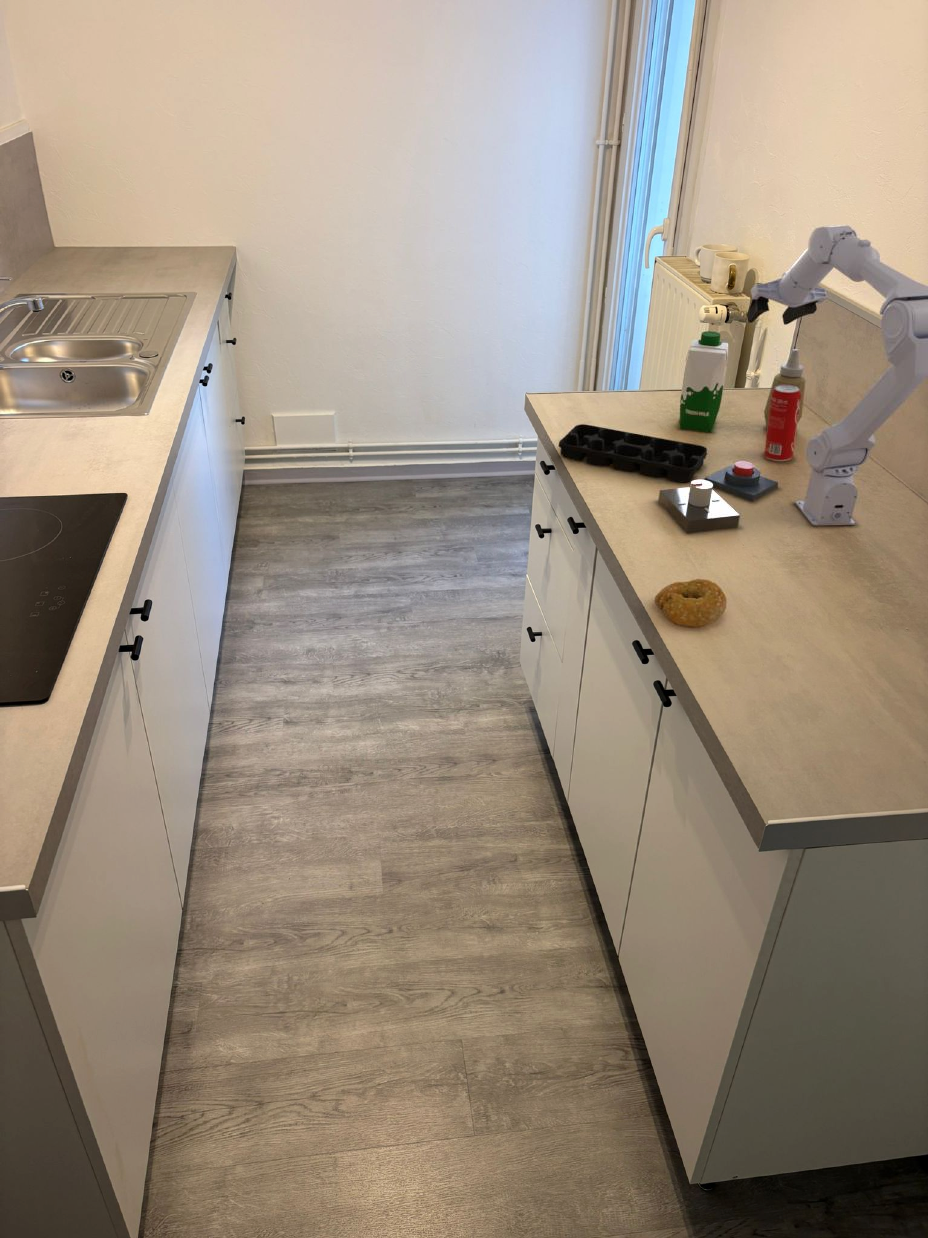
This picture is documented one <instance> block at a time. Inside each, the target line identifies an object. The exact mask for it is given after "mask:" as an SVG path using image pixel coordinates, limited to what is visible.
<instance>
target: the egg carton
mask: <svg viewBox="0 0 928 1238" xmlns="http://www.w3.org/2000/svg"><path fill="white" fill-rule="evenodd" d="M558 447H559V448H560V455H561V456H562V457H563V458H565V459H566V460H571V461H574V462H582V461H584V460H586V463H587V464H588V465H590V466H595V467H610V466H612V468H613V469H614V470H615V471H622V472H626V473H634V472H636V471H637V470H638V469H639V473H640V474H641V475H643V476H647V477H653V478H667V479H668V480H669V481H673V482H676V483H683V484H687V483H691V482H692V481H693V479H694V476H695V473H696V472H698V471H700V470H701V469H702V467H703V465H704V460H705V459H706V457H707V455H708V448H707V447H705V446H704V445H700V444H696V443H689V442H684V441H678V440H672V439H667V438H662V437H656V436H651V435H647V434H646V435H645V434H639V433H634V432H628V431H624V430H617V429H614V428H613V429H612V428H608V427H602V426H596V425H590V424H585V423H580V424H576V425H575V426H574V427H573V428H572V429H571V430H569V432H567V434H565V435H564V436H563V437H562V438H561V439H560V440H559V442H558ZM585 458H586V459H585Z"/></svg>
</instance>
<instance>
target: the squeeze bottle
mask: <svg viewBox="0 0 928 1238" xmlns="http://www.w3.org/2000/svg"><path fill="white" fill-rule="evenodd" d="M799 357H800V353H799V349H798V348H793V349H792V350H791V353H790V355H789V357H788V360H787V362H786V363H782V364H781V365H780V369H779V373H777V374H775V375H774V377H773V381H772V382H771V383H772V384H771V386H770V391H769V394H768V396H767V400H766V403H765V407H764V410H763V413H764V421H765V427H766V429H767V428H768V420H769V412H770V403H771V395H772V392H773V390H774V387H775V386H777V385H782V384H790V385H795V386H798V387H800V392H801V401H800V409H799V416H798V423H797V425H798V424H799V423H800V420H801V419H802V417H803V410H804V409H803V408H804V400H805V399H804V398H805V389H806V379H805V377H804V376H803V372H804V367H803V365H801V364H800V359H799Z"/></svg>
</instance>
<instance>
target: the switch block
mask: <svg viewBox="0 0 928 1238" xmlns="http://www.w3.org/2000/svg"><path fill="white" fill-rule="evenodd" d="M734 466H735V464H732V465H731V464H730V465H728V466H726V467H724V468H721V469H720V470H718V471H716V472H713V473H712V474H710V475H708V476H705V477H704V480H706V481H709V482H711V483H712V484H713V488H714V489H717V490H719V491H722V492H725V493H727V494H730V495H732V496H735V497H738V498H740V499H744V500H746V501H749V502H752V503H753V502H755V501H757V500H759V499H760V498H762V497H765V496H766V495H768V494H770V493H772V492H773V491H775V490H777V489H778V487H779V481H776V480H773V479H770V478H767V477H765V476H762V475H761V471H760V470H759V469H758V468H756V467H754V468H753V473H752V475H751V476H741V475H737V474H735V473H734Z"/></svg>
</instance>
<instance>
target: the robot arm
mask: <svg viewBox="0 0 928 1238" xmlns="http://www.w3.org/2000/svg"><path fill="white" fill-rule="evenodd" d="M871 244H872V241H870V240H869V239H861V238H859V237H858V234H857V231H855V230H854V229H853V228H852V227H851V226H850V225H848V224H847V225H827V226H820V227H819V226H818V227H816V228H815V229H814V230H813V231H812V232H811V233H810V236H809V238H808V242H807V248H806V250H804V252H802V254H801V255H800V256H799V258H798V259H797V260H796V261H795V262H794V263H793V265H792V266H791V267H790V268H789V270H788V271H784V272H783V273H782V274H781V277H780V278H777V279H774V280H772V281H766V282H763V283H761V282H757V283H755V284H754V285H753V286H752V288H751V289H750V294H751V301H750V305H749V308H748V310H747V311H746V312H747V313H746V318H747V323H749V324H751V323H754V322H755V321H756V320H757V319H758V318H759V317H760V316H761V315H763V314H764V313H766V312H769V311H770V307H769V302H770V301H773V302H776V303H777V304H780V305H784V306H785V307H787V308H785V310H784V311H783V313H782V314H781V318H782V322H783V325H784V326H785V325H789V324H790V323H792V322H794V321H796V320H798V319H800V318H802V317H805V316H808V315H813V314H815V313H816V311H817V310H818V306H817V304H823V303H824V302H825V301H826V299H827V298H828V294H827V290H826V288H825V287H824V288H823V287H819V284H820V283H821V282H822V281H823V280H824V279H825V278H826V277H827V275H829V273H831V271H833V269H836V270H837V271H838V272H839V273H841V274H843V275H844V276H845V277H847V278H848V279H849V280H851V281H852V282H855V283H861V282H866V283H867V284H868V285H869V286H871V288H873V289H874V290H875V291H876V292H877V293H879V294H880V295H881V296H882V297H883V298H884V299H885V300H884V301H883V303H882V305H881V306H880V310H879V315H880V316H881V318H880V329H881V335H882V341H883V346H884V351H885V357H886V361H888V362H889V363H890V364H891V365H890V366H889V367H888V368H887V369H886V371H885V372H884V373H883V374H882V375H881V376H880V378H879V379H878V380H877V381H876V382H875V383H874V384H873V385H872V387H871V388H869V390H868V391H867V392H866V393H865V394H864V396H863V397H862V398H861V399H860V400H859V401H858V402H857V403H856V404H855V406H853V408H852V409H851V410H850V411H849V413H847V415H846V416H845V417H844V418H843V419H842V420H841V421H840V422H837V423H835V424H832V425H830V426H829V427H826V428H825V429H823V430H822V431H821V432H819V434H815V435H813V436H811V437H810V439H809V440H808V441H807V443H806V447H805V458H806V461H807V463H808V467H809V468H811V472H810V475H809V480H808V484H807V490H806V494H805V498H804V500H796V501H795V502H794V503H795V505H796V506H797V507H798V509H799V510H800V511H801V512H802V514H803V515H804V516H805V517H806V519H807V520H808V521H809V523H810V524H811V525H812V526H815V527H816V526H817V527H818V526H854V525H856V521H855V520H854V519H853V514H854V510H855V505H856V502H857V498H858V489H857V488H856V485H855V483H854V473H856V472H859V468H860V466H861V465H863V464H865V463H866V462H867V460H868V459H869V457H870V453H871V450H872V449H873V448H874V447H875V446H876V438H875V433H876V432H877V431H878V430H879V429H880V428H881V427H882V426H883V425H884V423H885V422H887V420H888V419H889V418H890V417H891V416H892V415H893V414H894V413H895V412H896V411H897V410H898V409H899V408H901V406H902V405H903V403H904V402H905V401H906V400H908V398H909V397H910V396H911V395H912V394H913V393H914V392H916V390H917V389H918V388H919V387H920V386H921V385H922V384H923V383H924V382H925V381H926V380H927V379H928V285H926V284H924V283H921V282H918V281H916V280H914V279H912V278H910V277H909V276H907V275H905V274H904V273H902V272H900V271H898V270H896V269H895V268H892V267H891V266H889V265H887V264H885V263H884V262H881V256H880V253H879V251H878V250H877V249H876V248H874V247H873V246H871Z"/></svg>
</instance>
